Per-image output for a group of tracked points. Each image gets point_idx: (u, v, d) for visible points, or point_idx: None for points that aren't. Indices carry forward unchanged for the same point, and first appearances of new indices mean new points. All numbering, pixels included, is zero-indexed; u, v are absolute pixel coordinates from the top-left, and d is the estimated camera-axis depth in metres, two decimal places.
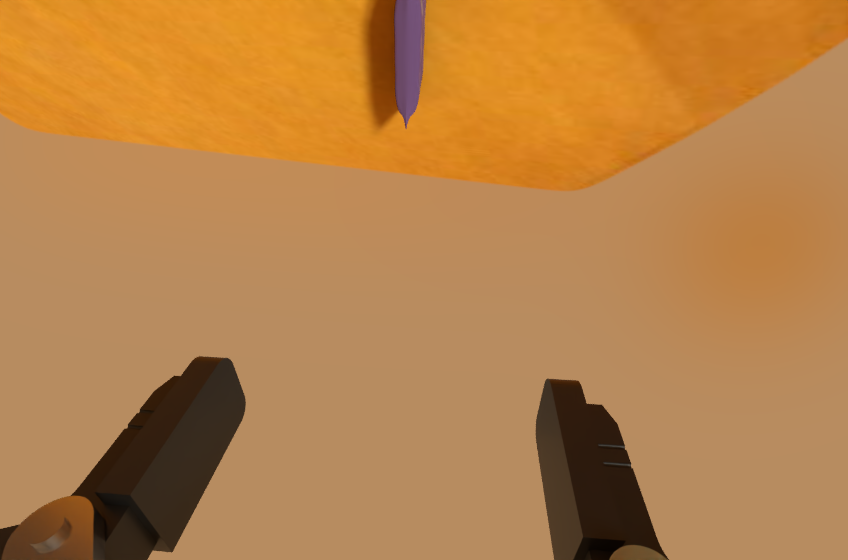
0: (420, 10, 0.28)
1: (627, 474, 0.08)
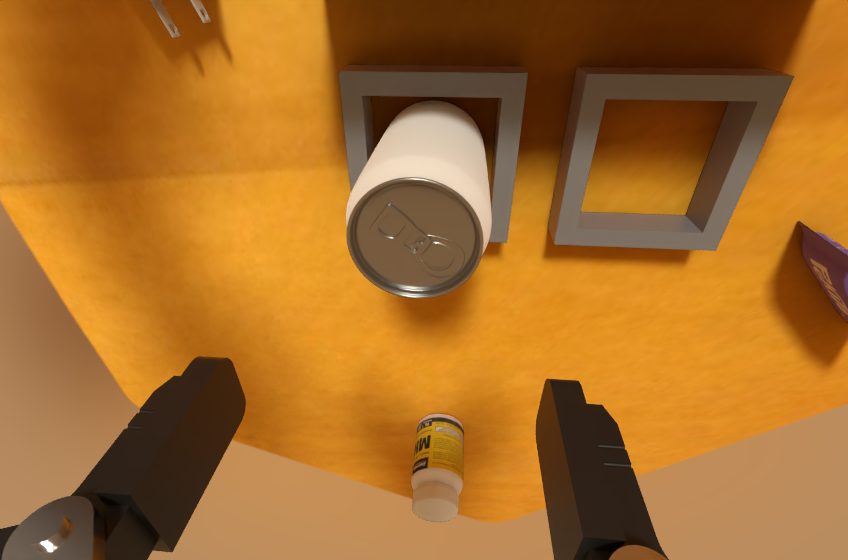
0: None
1: (627, 474, 0.08)
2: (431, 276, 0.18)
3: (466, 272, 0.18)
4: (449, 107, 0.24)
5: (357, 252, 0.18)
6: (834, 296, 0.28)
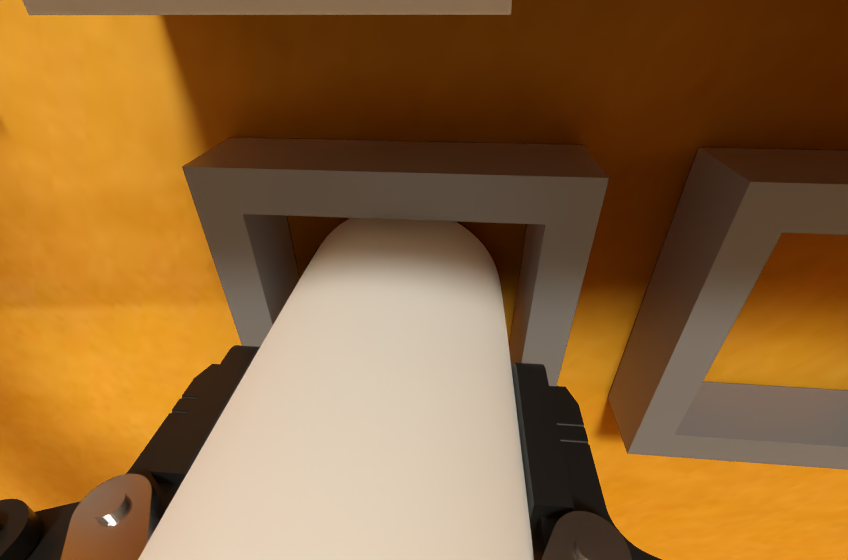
0: None
1: (583, 450, 0.09)
2: None
3: None
4: (431, 230, 0.12)
5: None
6: None
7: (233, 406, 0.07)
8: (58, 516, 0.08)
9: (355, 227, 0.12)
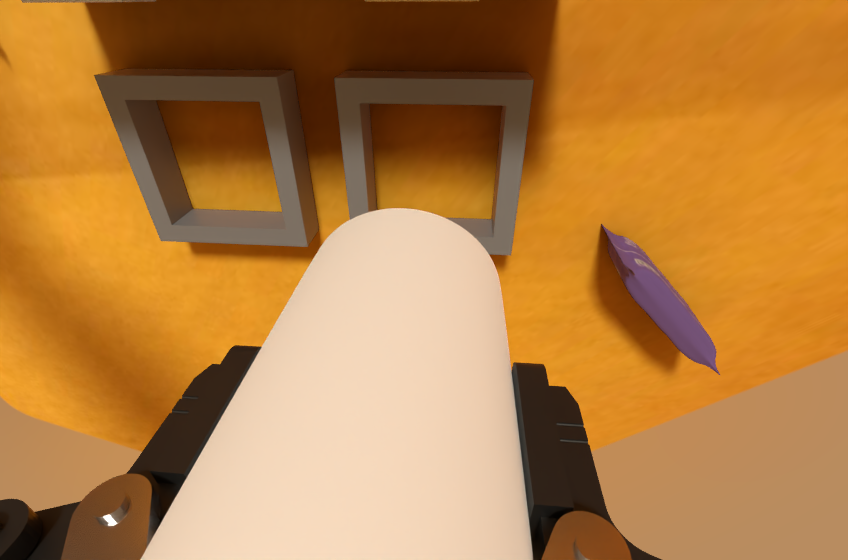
0: (657, 276, 0.24)
1: (583, 450, 0.09)
2: None
3: None
4: (431, 231, 0.12)
5: None
6: None
7: (234, 408, 0.07)
8: (59, 516, 0.08)
9: (355, 229, 0.12)
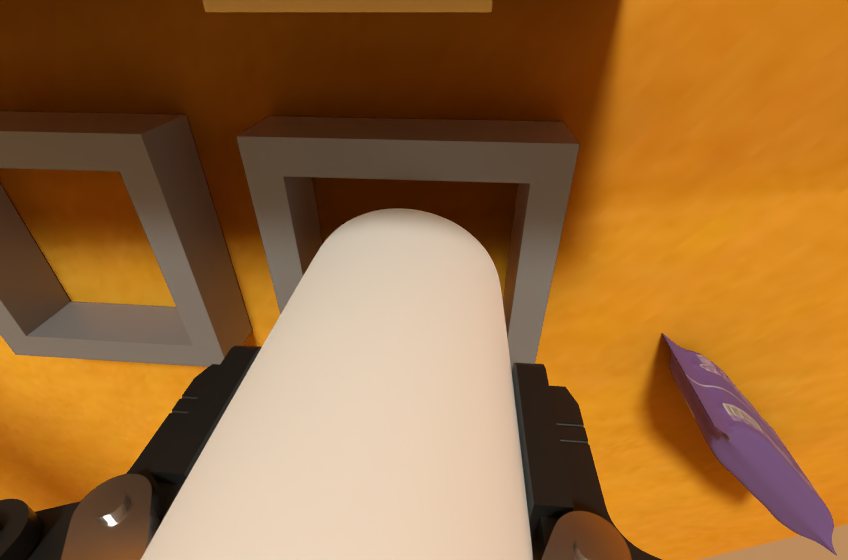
0: (760, 436, 0.16)
1: (583, 450, 0.09)
2: None
3: None
4: (431, 232, 0.12)
5: None
6: None
7: (234, 408, 0.07)
8: (58, 517, 0.08)
9: (355, 229, 0.12)
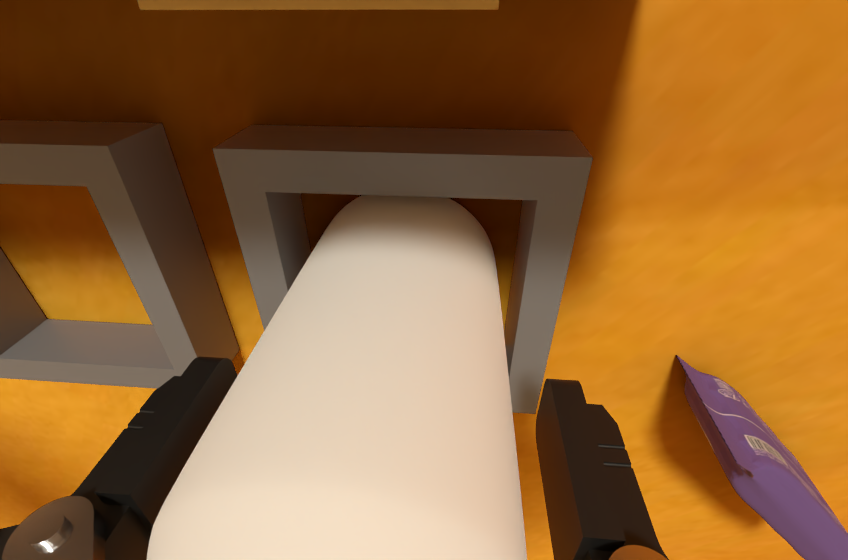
0: (786, 472, 0.14)
1: (627, 474, 0.08)
2: None
3: None
4: (432, 206, 0.13)
5: None
6: None
7: (260, 346, 0.09)
8: None
9: (362, 204, 0.13)
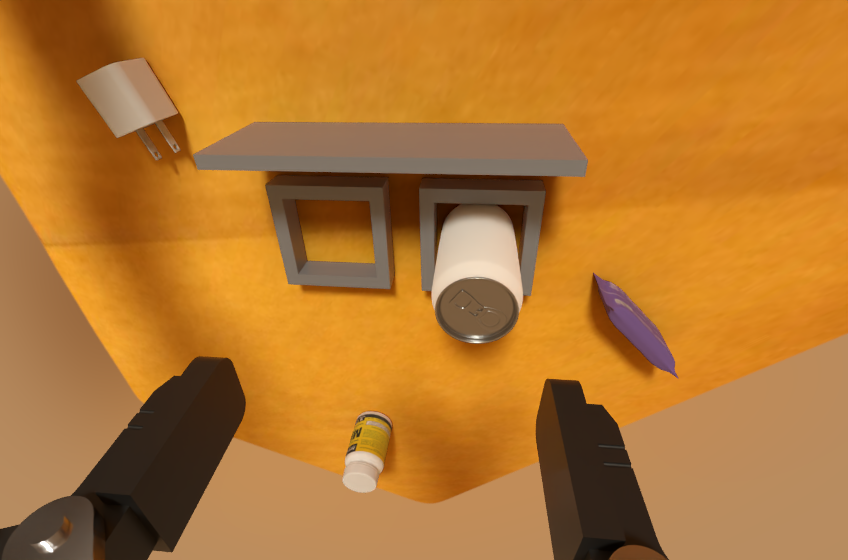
0: (629, 311, 0.36)
1: (627, 474, 0.08)
2: (485, 330, 0.29)
3: (507, 328, 0.29)
4: (490, 207, 0.35)
5: (439, 315, 0.29)
6: None
7: (449, 246, 0.31)
8: None
9: (464, 207, 0.36)
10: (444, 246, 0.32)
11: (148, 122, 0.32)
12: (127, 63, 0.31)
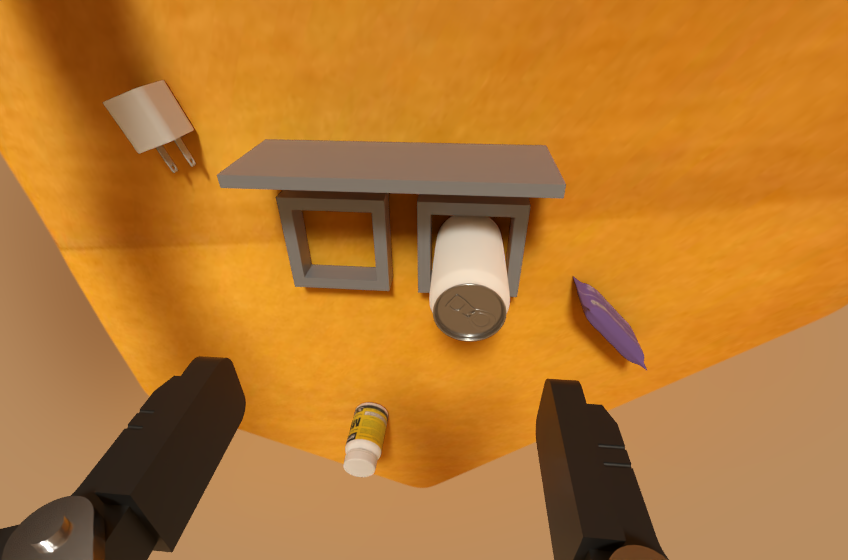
0: (604, 311, 0.41)
1: (627, 474, 0.08)
2: (476, 329, 0.33)
3: (496, 328, 0.33)
4: (481, 218, 0.39)
5: (436, 317, 0.33)
6: None
7: (444, 254, 0.35)
8: None
9: (458, 218, 0.39)
10: (440, 254, 0.36)
11: (169, 140, 0.35)
12: (150, 86, 0.34)
